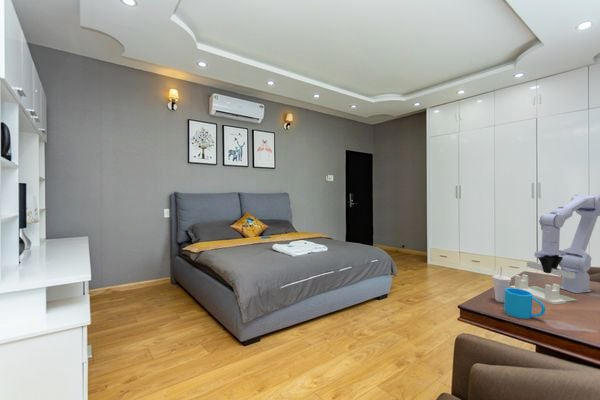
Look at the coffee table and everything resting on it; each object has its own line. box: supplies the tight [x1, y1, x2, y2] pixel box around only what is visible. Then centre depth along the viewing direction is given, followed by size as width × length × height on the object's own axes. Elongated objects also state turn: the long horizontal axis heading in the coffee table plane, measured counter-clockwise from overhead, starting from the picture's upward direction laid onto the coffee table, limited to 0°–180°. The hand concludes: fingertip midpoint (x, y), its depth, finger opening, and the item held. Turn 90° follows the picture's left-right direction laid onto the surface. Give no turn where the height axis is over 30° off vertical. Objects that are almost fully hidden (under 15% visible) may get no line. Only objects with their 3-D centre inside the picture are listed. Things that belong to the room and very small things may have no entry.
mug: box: [503, 287, 546, 319], centre depth 106 cm, size 12×8×8 cm
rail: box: [526, 261, 575, 279], centre depth 127 cm, size 2×18×2 cm, turn 13°
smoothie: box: [492, 266, 512, 303], centre depth 120 cm, size 6×6×14 cm
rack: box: [509, 273, 567, 305], centre depth 126 cm, size 6×19×7 cm, turn 13°
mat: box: [528, 285, 578, 303], centre depth 128 cm, size 7×17×1 cm, turn 13°
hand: (549, 272), depth 127 cm, fingers closed on rail, 2 cm apart
